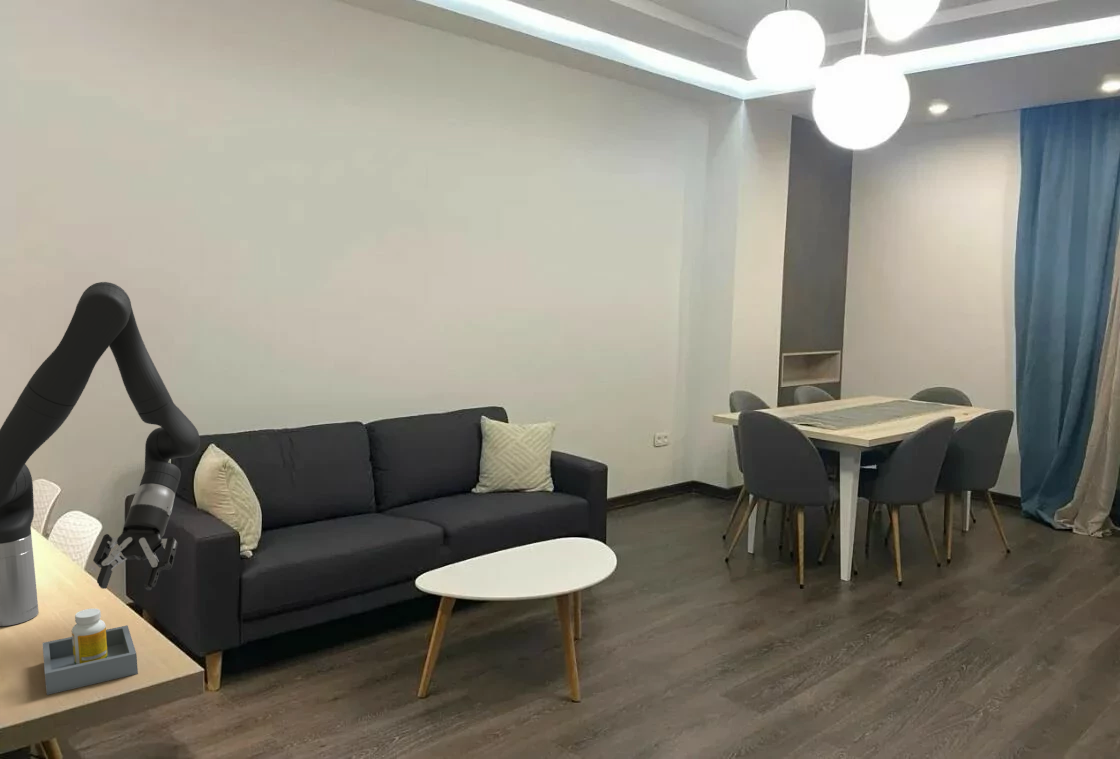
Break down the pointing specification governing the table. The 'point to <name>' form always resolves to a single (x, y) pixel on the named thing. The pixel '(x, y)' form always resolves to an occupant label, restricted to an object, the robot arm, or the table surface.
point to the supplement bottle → (89, 637)
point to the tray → (71, 676)
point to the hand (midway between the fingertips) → (124, 587)
